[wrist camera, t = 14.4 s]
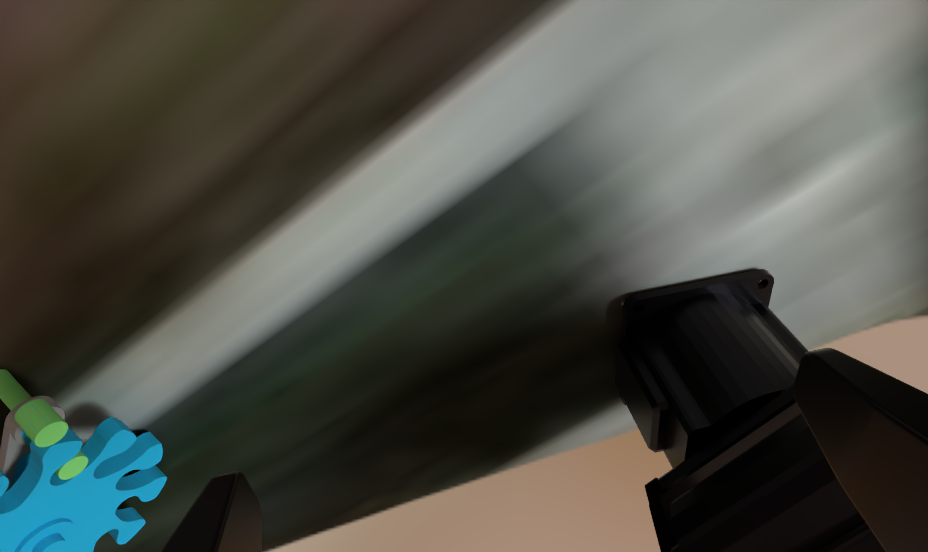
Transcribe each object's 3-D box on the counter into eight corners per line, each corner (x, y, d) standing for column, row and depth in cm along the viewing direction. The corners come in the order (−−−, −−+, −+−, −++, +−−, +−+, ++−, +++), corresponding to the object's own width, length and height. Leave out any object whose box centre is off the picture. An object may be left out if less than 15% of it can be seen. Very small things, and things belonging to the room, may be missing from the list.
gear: (149, 569, 29) (-134, 737, 20) (80, 489, 31) (-203, 609, 22) (206, 385, 25) (-114, 493, 16) (122, 308, 27) (-201, 368, 18)
